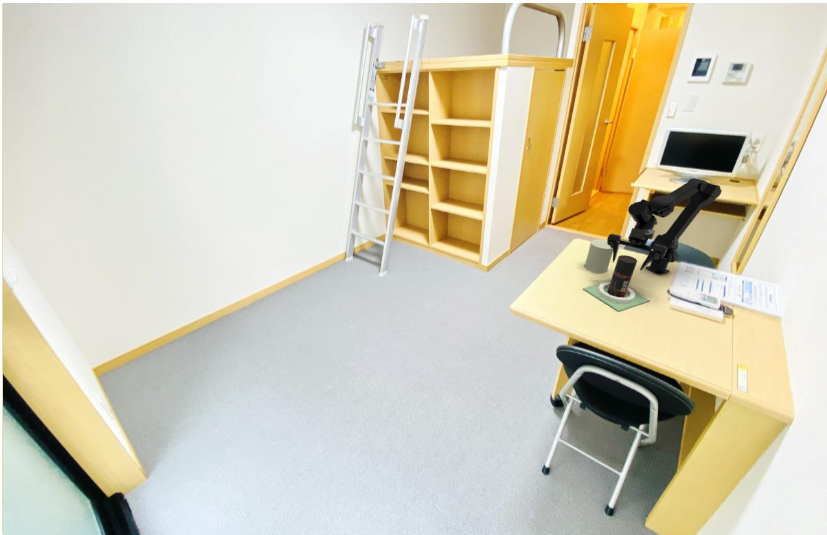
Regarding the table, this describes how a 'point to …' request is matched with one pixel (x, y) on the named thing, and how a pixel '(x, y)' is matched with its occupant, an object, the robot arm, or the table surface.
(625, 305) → the putting mat
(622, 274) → the deodorant
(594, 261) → the can
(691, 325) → the table surface
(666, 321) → the table surface
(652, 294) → the table surface
